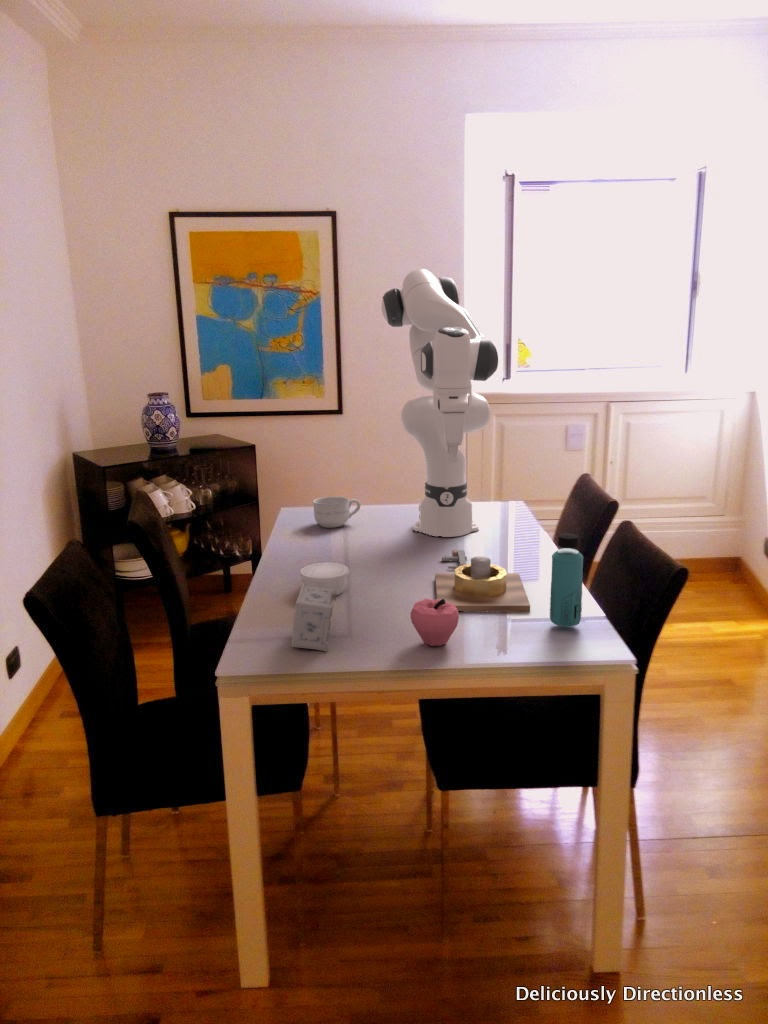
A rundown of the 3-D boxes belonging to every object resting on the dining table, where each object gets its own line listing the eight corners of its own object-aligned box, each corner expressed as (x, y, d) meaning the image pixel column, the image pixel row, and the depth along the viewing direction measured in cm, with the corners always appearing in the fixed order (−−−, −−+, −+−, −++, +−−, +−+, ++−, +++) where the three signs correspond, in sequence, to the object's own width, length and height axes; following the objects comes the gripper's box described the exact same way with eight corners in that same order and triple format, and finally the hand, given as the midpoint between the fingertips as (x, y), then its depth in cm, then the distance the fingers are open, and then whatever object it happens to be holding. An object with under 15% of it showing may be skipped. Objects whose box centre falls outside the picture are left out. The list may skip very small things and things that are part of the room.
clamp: (441, 549, 211) (479, 549, 211) (441, 557, 212) (479, 557, 212) (443, 569, 197) (484, 569, 197) (443, 577, 198) (484, 577, 197)
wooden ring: (453, 579, 191) (453, 563, 190) (502, 579, 190) (503, 563, 189) (456, 597, 180) (456, 580, 179) (508, 597, 179) (508, 580, 178)
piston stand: (435, 579, 195) (435, 546, 193) (518, 579, 194) (519, 545, 192) (437, 612, 176) (437, 575, 174) (530, 611, 175) (531, 575, 173)
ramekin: (296, 586, 193) (295, 565, 191) (341, 579, 196) (340, 559, 195) (307, 602, 183) (306, 580, 181) (354, 595, 186) (354, 574, 185)
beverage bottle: (575, 636, 163) (580, 541, 157) (544, 629, 166) (547, 537, 161) (584, 624, 168) (589, 532, 163) (553, 618, 172) (557, 528, 166)
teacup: (311, 530, 236) (310, 504, 233) (316, 520, 246) (315, 494, 244) (359, 530, 235) (358, 503, 233) (361, 519, 245) (361, 494, 243)
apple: (455, 633, 165) (456, 588, 162) (461, 652, 157) (462, 604, 154) (409, 635, 165) (408, 589, 162) (412, 654, 156) (412, 606, 154)
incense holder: (333, 652, 158) (331, 603, 155) (291, 652, 158) (288, 603, 155) (338, 631, 167) (336, 584, 164) (298, 631, 167) (295, 584, 165)
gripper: (437, 393, 198) (437, 448, 202) (440, 405, 178) (439, 466, 182) (463, 392, 198) (462, 448, 202) (468, 405, 178) (468, 466, 182)
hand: (452, 457), depth 192 cm, fingers open, 8 cm apart
